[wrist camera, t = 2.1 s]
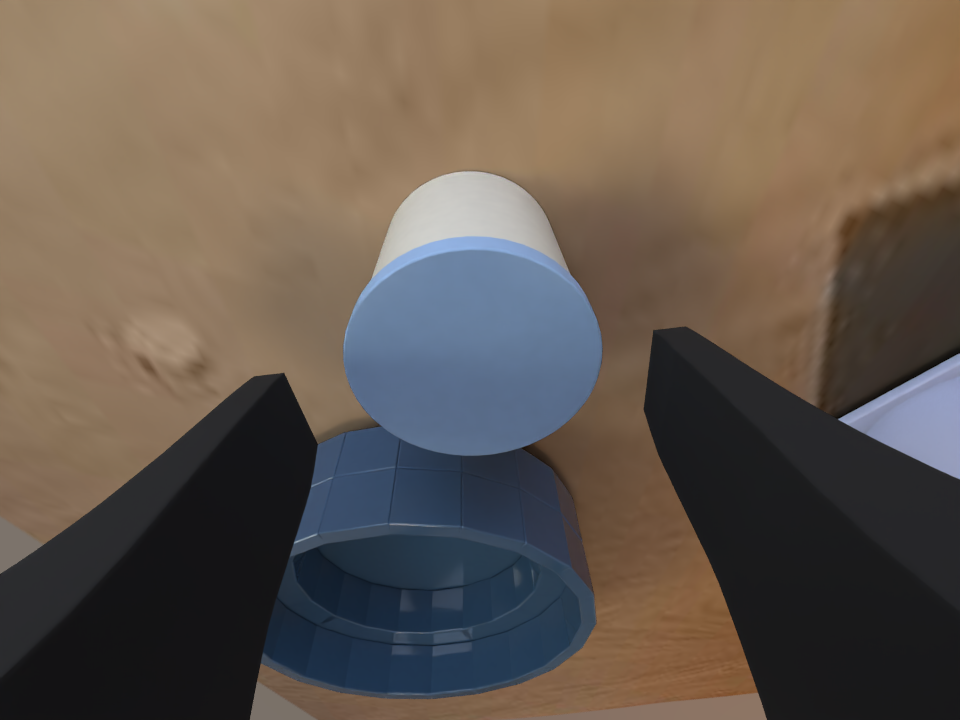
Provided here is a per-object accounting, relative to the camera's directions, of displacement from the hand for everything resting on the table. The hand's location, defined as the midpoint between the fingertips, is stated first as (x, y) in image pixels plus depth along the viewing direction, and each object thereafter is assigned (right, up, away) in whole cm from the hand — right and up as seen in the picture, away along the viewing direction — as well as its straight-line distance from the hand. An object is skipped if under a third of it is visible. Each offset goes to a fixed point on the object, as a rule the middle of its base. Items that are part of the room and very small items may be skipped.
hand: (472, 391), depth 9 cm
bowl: (-3, -7, +13) cm, 15 cm away
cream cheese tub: (0, +4, +5) cm, 6 cm away
